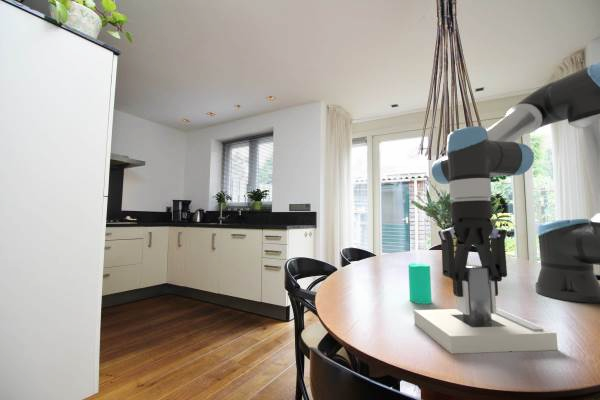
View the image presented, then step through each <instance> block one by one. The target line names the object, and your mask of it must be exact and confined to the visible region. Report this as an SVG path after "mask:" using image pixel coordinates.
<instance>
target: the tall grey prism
mask: <svg viewBox="0 0 600 400" xmlns="http://www.w3.org/2000/svg"><path fill="white" fill-rule="evenodd" d="M463 281H466V282H468V296H469V314H470V315H465V314H464V313H463V322H464V323H465V324H467V325H469V326H470V327H492V316H491V300H490V284H489V268H488V267H485V266H482V265H479V264H478V265H477V264H466V270H465V275H464V280H463Z"/></svg>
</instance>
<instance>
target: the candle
mask: <svg viewBox="0 0 600 400" xmlns="http://www.w3.org/2000/svg"><path fill="white" fill-rule="evenodd" d="M431 281H432V279H431V265H430V264H425V263H414V262H411V263H409V264H408V284H409V285H408V287H409V289H408V290H409V301H411V302H412V303H416V304H421V303H422V304H431V302H432V301H433V300H432V282H431Z"/></svg>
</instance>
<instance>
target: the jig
mask: <svg viewBox="0 0 600 400" xmlns="http://www.w3.org/2000/svg"><path fill="white" fill-rule="evenodd" d="M496 313H497V314H492V313H491V316H492V327H470V326H469V325H467V324H465V323H464V322H463V313H462V312H460V311H458V309H457V308H450V309H448V308H446V309H445V308H444V309H442V308H441V309H414V310H413V315H414V317H413V318H414V325H416V326H417V327H418V328H420V329H421V331H422V332H424V333H426V334H427V336H430V338H431V339H433V340H434V341H435V342H437V343H438V344H439V345H440V346H442V347H443V348H444V350H446V351H447V352H448V353H450V354H476V353H479V354H480V353H508V352H509V351H512V352H533V351H534V352H537V351H539V352H541V351H557V350H558V349H559V347H558V337H557V336H558V335H557V332H555V331H553V330H550V329H548V328H546V327H544V326H541V325H538V324H536V323H533V322H531V321H529V320H528V319H524V318H521V317H520V316H517V315H515V314H512V313H511V312H510V313H509V312H508V311H506V310H503V309H501V308H497V307H496Z"/></svg>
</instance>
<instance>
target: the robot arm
mask: <svg viewBox="0 0 600 400" xmlns="http://www.w3.org/2000/svg"><path fill="white" fill-rule="evenodd" d="M566 120H567V122H568V125H569V126H571V127H573V128H576V129H577V131H578V136H579V140H580V145H581V150H582V154H583V158H584V163H585V168H586V172H587V177H588V182H589V186H590V190H591V194H592V195H591V196H592V199H593V205H594V209H595V213H594V215H593V216H592V217H591V218H589V219H588V218H575V219H573V218H572V219H561V220H552V221H545V222H542V223H540V224H539V225H538V234H537V238H538V244H539V256H540V258H539V259H540V270H539V274H538V278H537V282H535V284H534V285H535V286H534V287H535V292H536V293H537V294H539V295H541V296H544V297H547V298H548V297H549V298H553V299H557V300H563V301H570V302H578V303H588V304H589V303H590V304H591V303H592V304H593V303H594V304H595V303H596V304H597V303H600V282H599V280H598V278H597V276H596V274H595V269H594V265H595V266H600V62H598V63H595V64H591V65H589V66H588V67H585V68H582V69H580V70H577V71H575V72H574V73H571V74H569V75H567V76H565V77H564V76H563V77H561V78H559V79H557V80H555V81H552V82H549V83H548V84H544V85H543V86H542V87H540V88H538V89H536V90H535V91H533V92H532V93H530V94H529V95H528V96H526V97H525V98H523V99H522V100H521V101H519V102H518V103H516V104H515V105H513V106H512V107H511V108H510V109H508V111H507V112H506V115H505V116H504V117H503V118H501V119H499V120H498V121H497V122H495V123H494V124H493V125H492V126H490V127H488V128H487V129H486V128H485V127H484V126H478V125H477V126H476V125H475V126H467V127H466V126H465V127H461V128H458V129H456V130H453V131H451V132H450V133H449V134H448V135H447V142H446V154H447V156H444V157H443V156H442V157H441V158H440V159H436V160H435V161H434V162H433V164H432V166H431V175H432V177H433V179H434V180H435V182H437V183H438V184H442V185H448V184H449V198H450V200H452V202H451V203H450V204H449V205H450V218H451V220H452V221H451V224H450V227H449V228H446V229H440V230H438V235H439V238H440V241H441V263H442V264H441V265H442V266H441V267H442V275H443V276H444V277H447V278H449V279H451V280H452V292H453V296H456V305H457V308H456V309H458V311H460V312H462V313H464V314H465V315H470V314H469V296H468V282H466V281H463V280H464V275H465V270H466V265H468V264H467V263H468V257H469V252H470V250H471V249H472V247H473V246H474V248H475V249H476V251H477V254H478V257H479V262H480V265H481V266H485V267H488V268H489V284H490V300H491V313H492V314H497V313H496V308H497V303H496V301H497V299H496V297H497V296H499V286H498V282H501V281H502V280H503V278H507V277H508V270H507V269H508V268H507V254H506V243H505V242H506V236H507V230H506V229H504V228H503V229H500V228H497V227H494V225H493V223H492V218H493V204H492V202H491V200H489V199H491V198H492V187H491V186H492V184H491V183H492V182H491V178H493V177H500V176H501V177H502V176H506V177H512V176H520V175H523V174H525V173H527V171H529V170H530V169H531V168H532V166H533V164H534V162H535V161H534V160H535V155H534V152H533V150H532V148H531V147H530V146H528V145H527V144H524V143H518V142H517V140H519V139H520V138H522V137H523V136H524V135H528V134H531V133H533V132H535V131H537V130H538V129H540V128H542V127H545V126H547V125H552V124H555V123H558V122H562V121H566ZM489 237H490V239H489ZM454 238H456V241H455V243H454Z"/></svg>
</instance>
